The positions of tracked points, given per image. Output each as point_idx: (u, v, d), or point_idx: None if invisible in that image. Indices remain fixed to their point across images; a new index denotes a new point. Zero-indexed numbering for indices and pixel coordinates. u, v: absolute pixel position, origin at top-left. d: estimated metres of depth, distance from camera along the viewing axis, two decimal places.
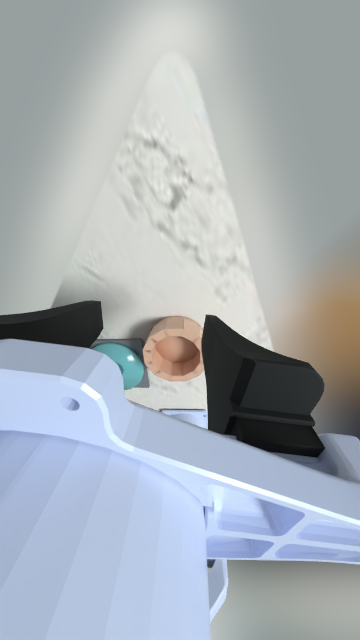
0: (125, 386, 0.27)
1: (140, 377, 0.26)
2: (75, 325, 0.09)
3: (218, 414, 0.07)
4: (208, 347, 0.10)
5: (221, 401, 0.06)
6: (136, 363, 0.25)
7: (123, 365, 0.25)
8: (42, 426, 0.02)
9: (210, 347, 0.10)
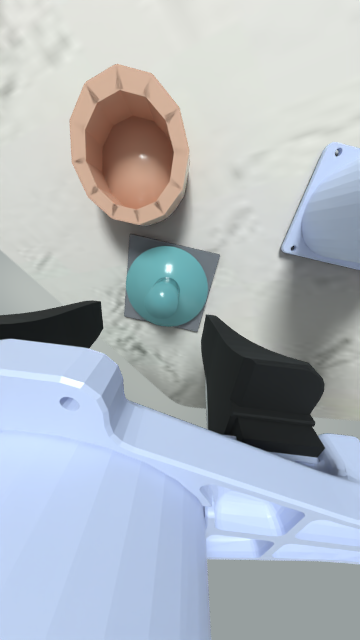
0: (201, 288, 0.18)
1: (189, 257, 0.17)
2: (75, 325, 0.09)
3: (218, 414, 0.07)
4: (208, 347, 0.10)
5: (221, 401, 0.06)
6: (161, 253, 0.17)
7: (162, 275, 0.18)
8: (42, 426, 0.02)
9: (210, 347, 0.10)
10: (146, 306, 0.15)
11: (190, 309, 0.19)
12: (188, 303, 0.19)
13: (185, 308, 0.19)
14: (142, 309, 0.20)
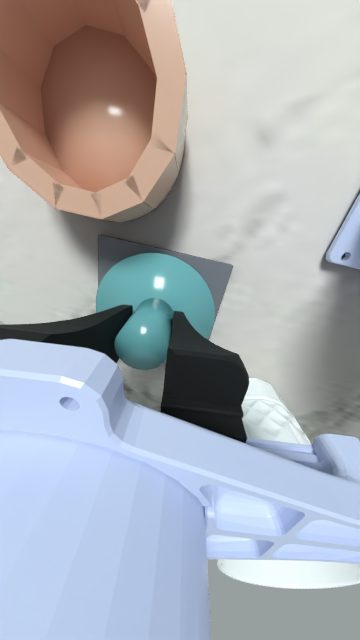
0: (205, 313, 0.12)
1: (187, 270, 0.11)
2: (115, 330, 0.09)
3: None
4: None
5: None
6: (145, 263, 0.11)
7: (147, 295, 0.12)
8: (42, 426, 0.02)
9: None
10: (118, 351, 0.09)
11: None
12: None
13: None
14: None
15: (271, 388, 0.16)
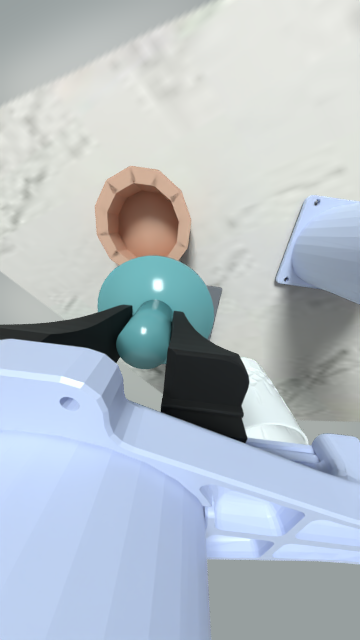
0: (204, 313, 0.13)
1: (186, 271, 0.11)
2: (114, 330, 0.09)
3: None
4: None
5: None
6: (145, 266, 0.11)
7: (147, 297, 0.12)
8: (42, 426, 0.02)
9: None
10: (120, 351, 0.10)
11: None
12: None
13: None
14: None
15: (255, 363, 0.24)
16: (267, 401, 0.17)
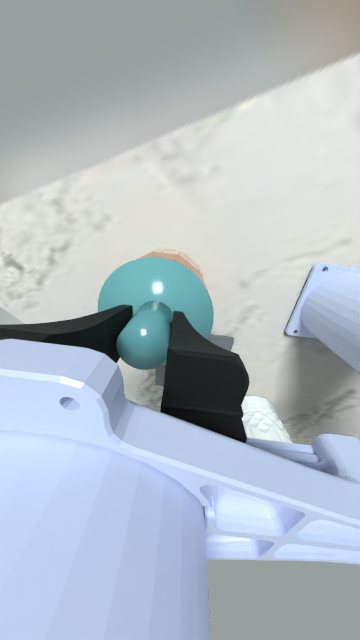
0: (203, 313, 0.13)
1: (184, 272, 0.12)
2: (115, 330, 0.09)
3: None
4: None
5: None
6: (144, 267, 0.12)
7: (147, 298, 0.12)
8: (42, 426, 0.02)
9: None
10: (120, 352, 0.10)
11: None
12: None
13: None
14: None
15: (265, 402, 0.25)
16: None
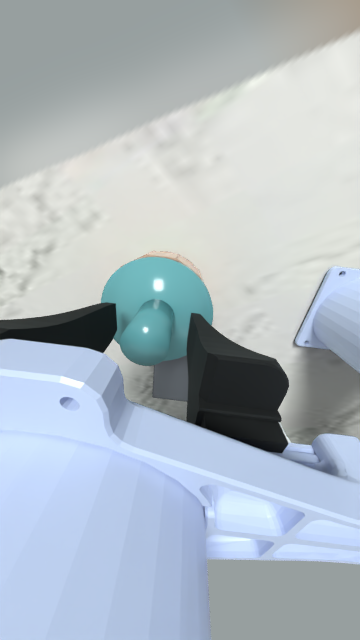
0: (203, 311, 0.13)
1: (185, 271, 0.12)
2: (94, 327, 0.09)
3: (191, 411, 0.07)
4: (190, 345, 0.10)
5: (194, 398, 0.06)
6: (145, 267, 0.12)
7: (148, 297, 0.13)
8: (42, 426, 0.02)
9: (192, 345, 0.10)
10: (123, 349, 0.10)
11: None
12: (187, 331, 0.14)
13: (183, 338, 0.14)
14: None
15: None
16: None
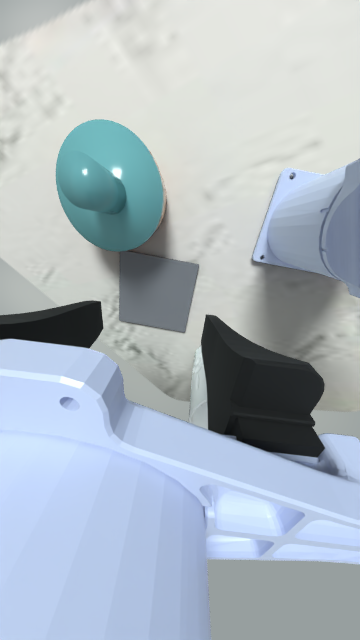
0: (153, 189, 0.14)
1: (133, 138, 0.13)
2: (75, 325, 0.09)
3: (218, 414, 0.07)
4: (208, 347, 0.10)
5: (221, 401, 0.06)
6: (95, 131, 0.12)
7: None
8: (42, 426, 0.02)
9: (210, 347, 0.10)
10: (62, 186, 0.11)
11: (142, 224, 0.15)
12: (139, 215, 0.15)
13: (136, 223, 0.15)
14: (81, 225, 0.15)
15: None
16: None
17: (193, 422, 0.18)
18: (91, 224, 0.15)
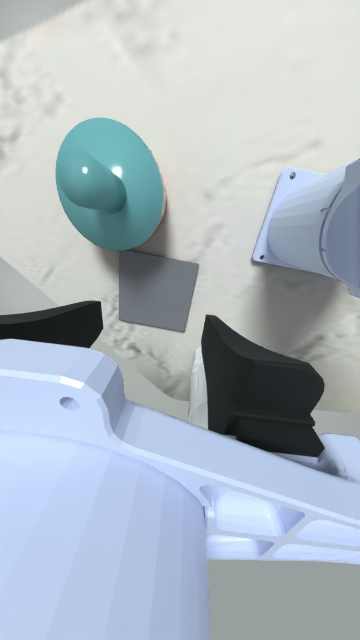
0: (153, 188, 0.14)
1: (133, 137, 0.12)
2: (75, 325, 0.09)
3: (218, 414, 0.07)
4: (208, 347, 0.10)
5: (221, 401, 0.06)
6: (95, 130, 0.12)
7: None
8: (42, 426, 0.02)
9: (210, 347, 0.10)
10: (61, 184, 0.11)
11: (142, 223, 0.15)
12: (139, 214, 0.15)
13: (136, 222, 0.15)
14: (81, 224, 0.15)
15: None
16: None
17: (192, 422, 0.18)
18: (91, 223, 0.15)
